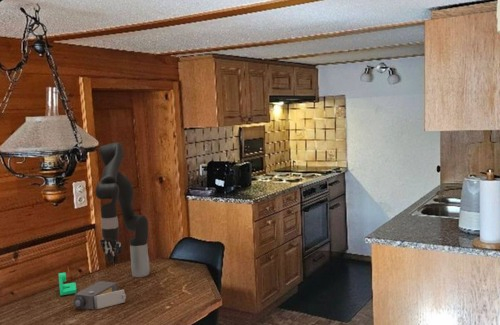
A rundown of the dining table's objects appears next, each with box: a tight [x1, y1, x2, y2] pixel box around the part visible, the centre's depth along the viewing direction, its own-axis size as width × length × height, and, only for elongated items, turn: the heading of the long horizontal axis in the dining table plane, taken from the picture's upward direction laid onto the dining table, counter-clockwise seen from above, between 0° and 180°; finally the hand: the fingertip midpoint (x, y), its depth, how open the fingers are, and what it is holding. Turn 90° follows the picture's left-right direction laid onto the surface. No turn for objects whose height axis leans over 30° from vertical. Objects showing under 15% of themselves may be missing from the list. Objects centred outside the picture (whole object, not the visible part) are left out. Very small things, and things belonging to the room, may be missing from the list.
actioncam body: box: [73, 280, 118, 311], centre depth 233 cm, size 21×10×7 cm, turn 159°
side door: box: [94, 289, 127, 311], centre depth 227 cm, size 14×2×6 cm, turn 124°
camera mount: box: [58, 272, 78, 296], centre depth 249 cm, size 12×8×10 cm, turn 22°
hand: (112, 262), depth 231 cm, fingers open, 4 cm apart
